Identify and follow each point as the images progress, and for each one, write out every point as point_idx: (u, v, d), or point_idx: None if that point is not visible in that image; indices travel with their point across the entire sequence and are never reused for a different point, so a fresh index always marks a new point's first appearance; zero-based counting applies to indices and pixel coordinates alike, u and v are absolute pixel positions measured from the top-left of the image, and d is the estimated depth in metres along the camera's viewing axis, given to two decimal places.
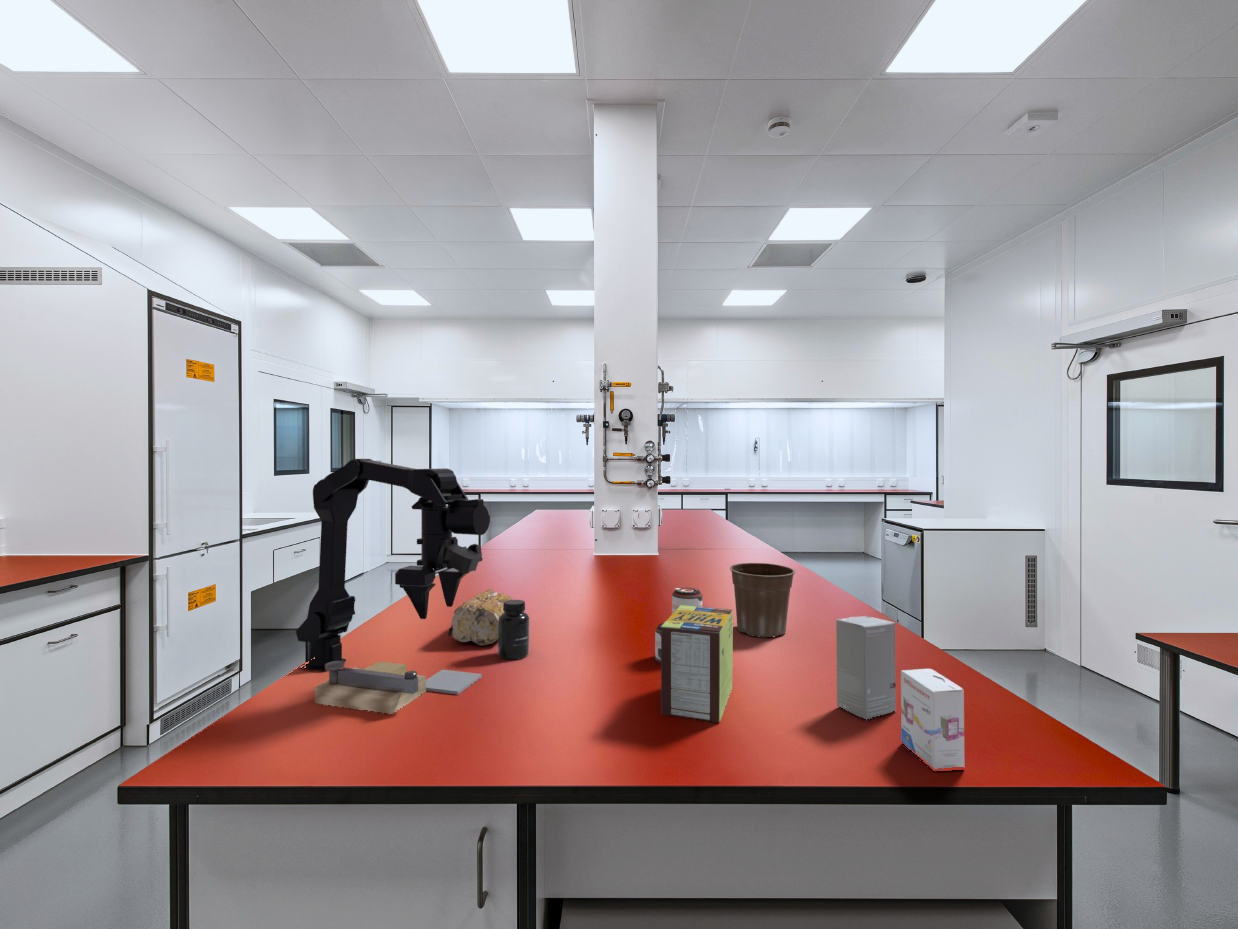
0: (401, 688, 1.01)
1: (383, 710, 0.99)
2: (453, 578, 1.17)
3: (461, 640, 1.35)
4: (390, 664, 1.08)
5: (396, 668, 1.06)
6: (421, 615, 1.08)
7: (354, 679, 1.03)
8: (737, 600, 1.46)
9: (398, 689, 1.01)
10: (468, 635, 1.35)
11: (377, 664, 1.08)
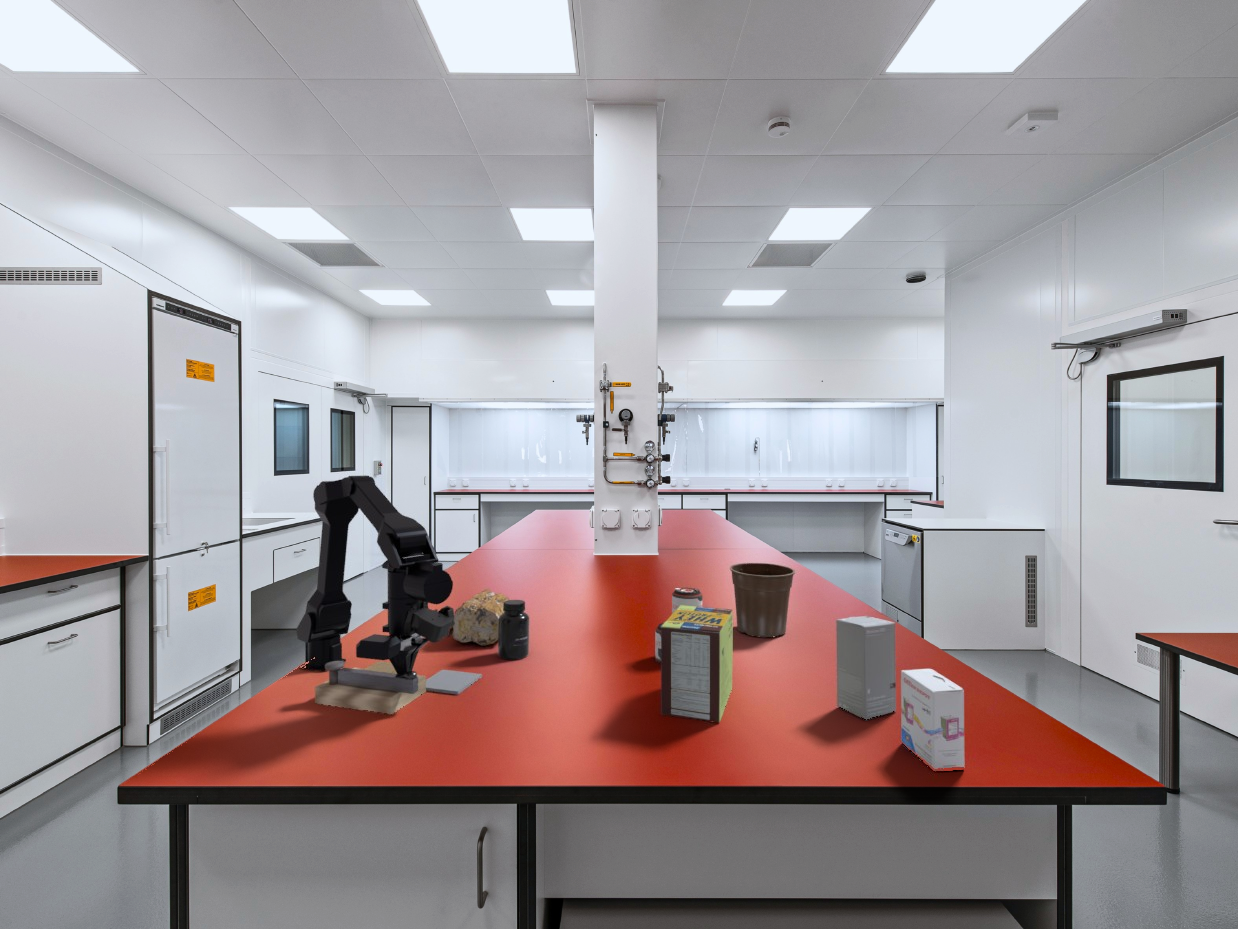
0: (401, 688, 1.01)
1: (383, 710, 0.99)
2: None
3: (462, 640, 1.35)
4: (390, 664, 1.08)
5: None
6: None
7: (354, 679, 1.03)
8: (737, 600, 1.46)
9: (398, 689, 1.01)
10: (469, 635, 1.35)
11: (377, 664, 1.08)
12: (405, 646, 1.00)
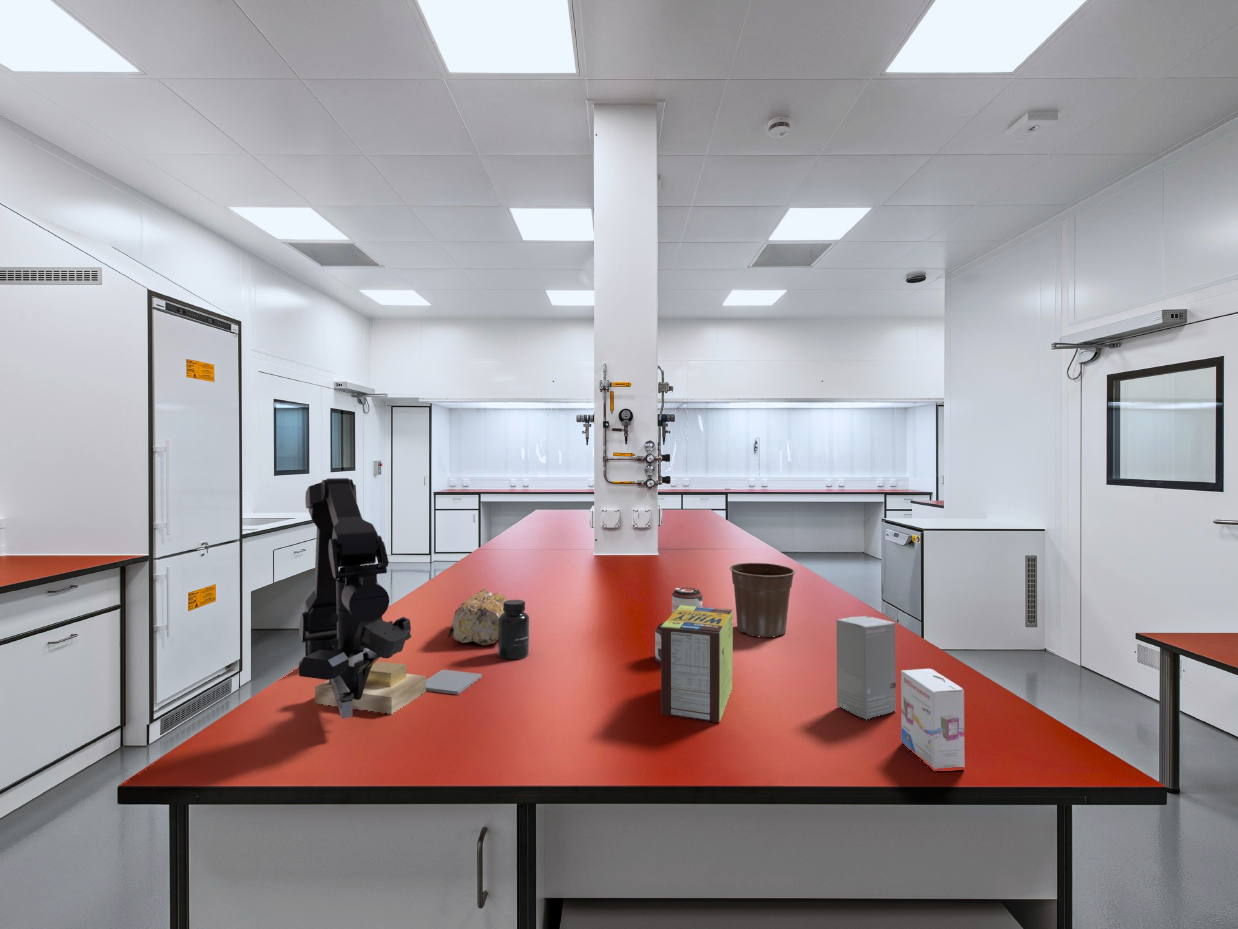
0: (340, 708, 0.92)
1: (383, 710, 0.99)
2: None
3: (462, 641, 1.35)
4: (390, 664, 1.08)
5: (396, 668, 1.06)
6: (355, 695, 0.95)
7: (333, 685, 1.01)
8: (737, 600, 1.46)
9: (339, 709, 0.93)
10: (469, 635, 1.35)
11: (377, 664, 1.08)
12: (356, 662, 0.92)
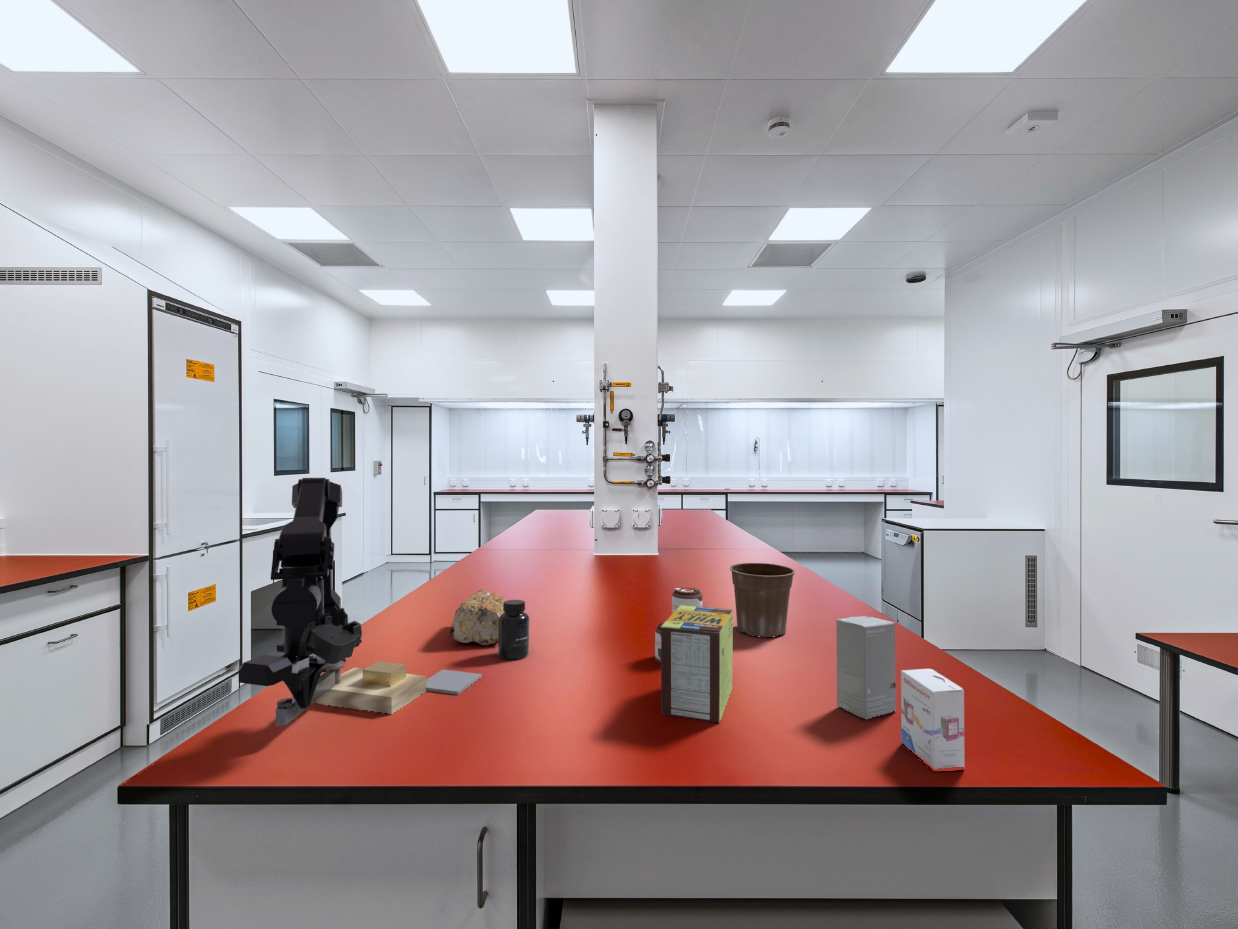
0: None
1: (383, 710, 0.99)
2: None
3: (463, 641, 1.34)
4: (390, 664, 1.08)
5: (396, 668, 1.06)
6: (301, 704, 0.91)
7: None
8: (737, 600, 1.46)
9: None
10: (470, 635, 1.35)
11: (377, 664, 1.08)
12: (300, 668, 0.88)
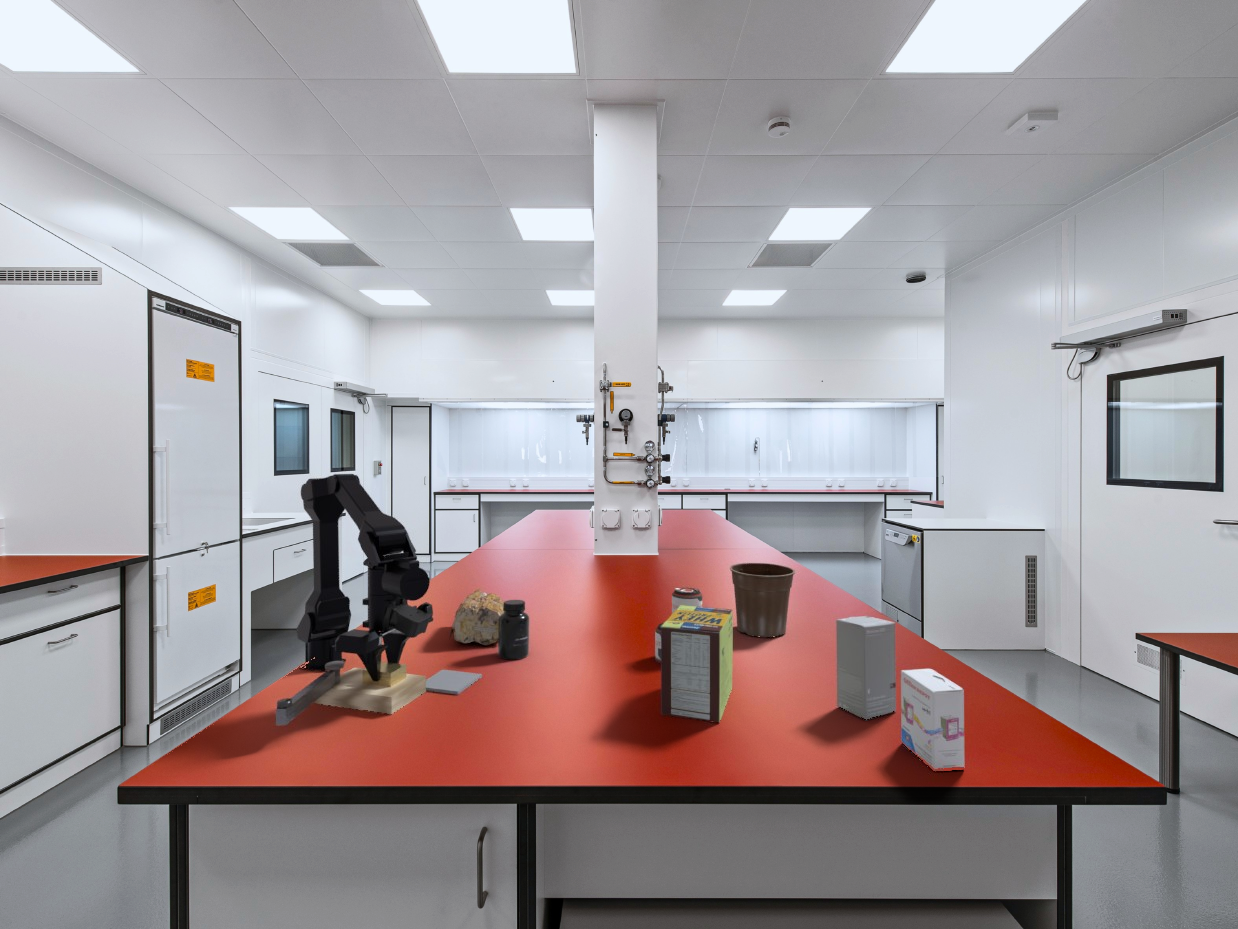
0: None
1: (383, 710, 0.99)
2: (397, 641, 1.09)
3: (464, 641, 1.34)
4: (390, 664, 1.08)
5: (396, 668, 1.06)
6: (373, 677, 1.04)
7: None
8: (737, 600, 1.46)
9: None
10: (471, 635, 1.35)
11: None
12: None
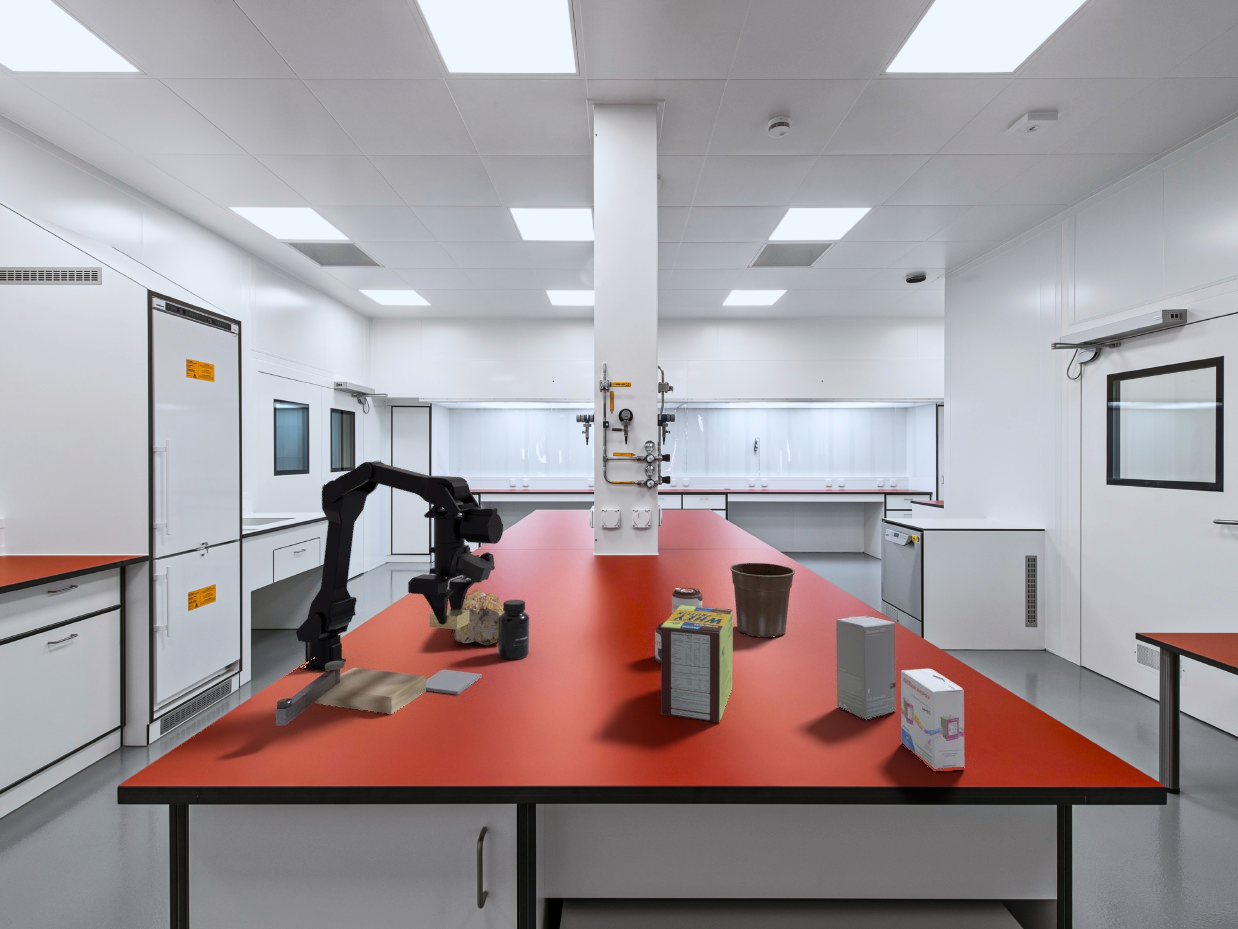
0: None
1: (383, 710, 0.99)
2: (460, 589, 1.15)
3: (464, 641, 1.34)
4: (454, 610, 1.14)
5: (461, 613, 1.12)
6: (440, 620, 1.10)
7: None
8: (737, 600, 1.46)
9: None
10: (472, 635, 1.35)
11: None
12: None
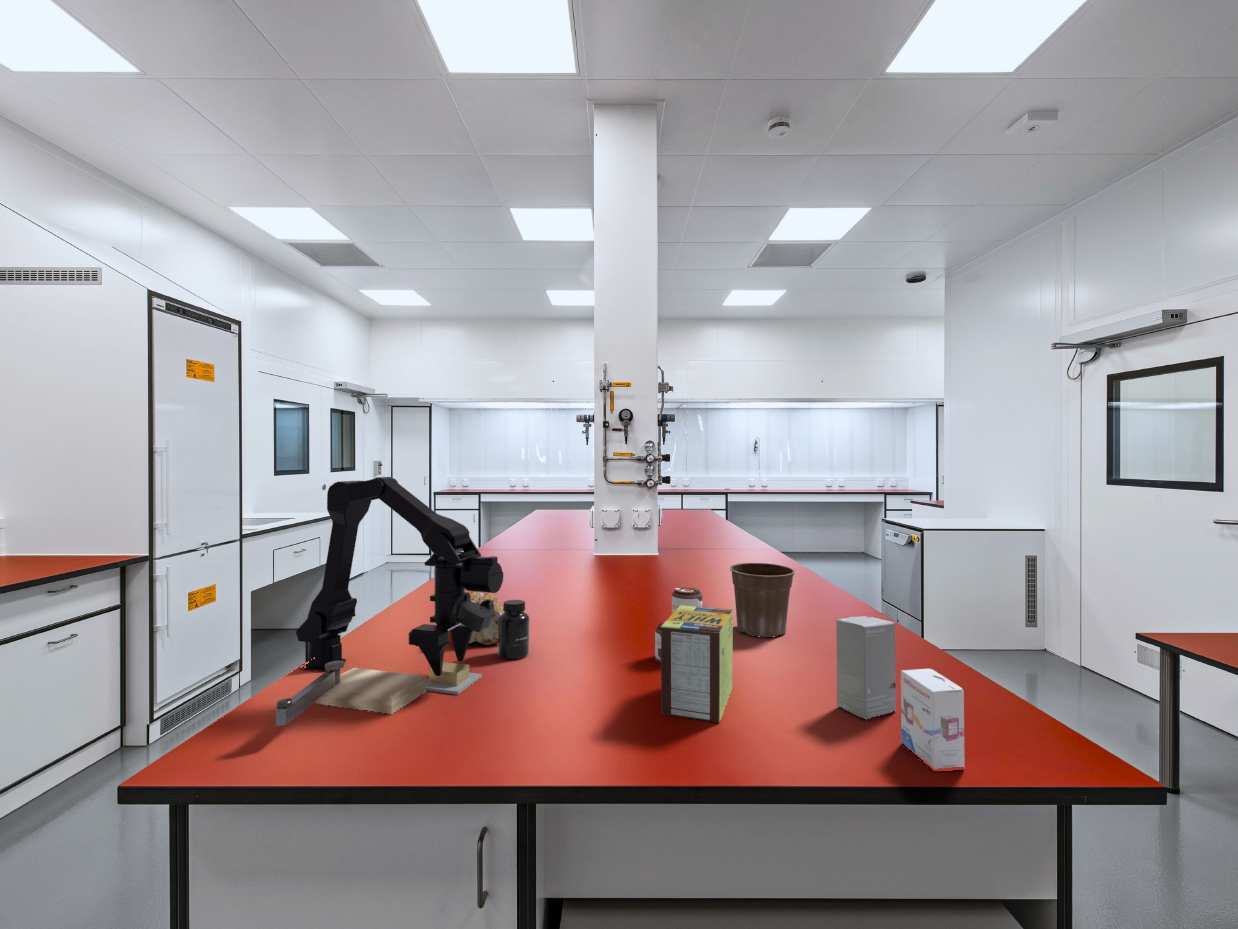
0: None
1: (383, 710, 0.99)
2: (464, 633, 1.17)
3: None
4: (454, 664, 1.14)
5: (461, 668, 1.12)
6: (436, 672, 1.09)
7: None
8: (737, 600, 1.46)
9: None
10: (472, 635, 1.34)
11: None
12: None
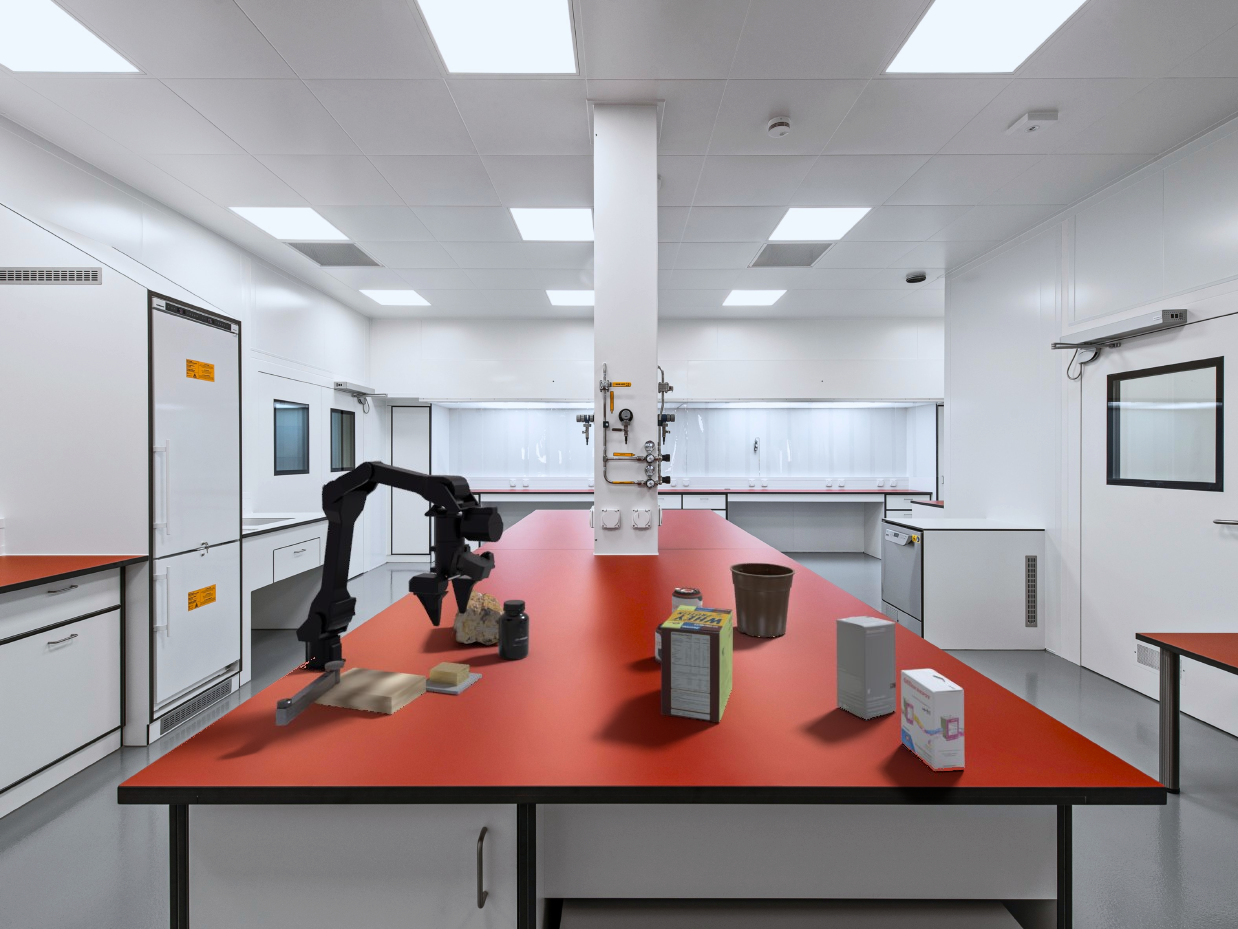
0: None
1: (383, 710, 0.99)
2: (466, 585, 1.17)
3: (466, 642, 1.34)
4: (454, 664, 1.14)
5: (461, 668, 1.12)
6: (434, 622, 1.08)
7: None
8: (737, 600, 1.46)
9: None
10: (473, 635, 1.34)
11: (442, 664, 1.14)
12: None
